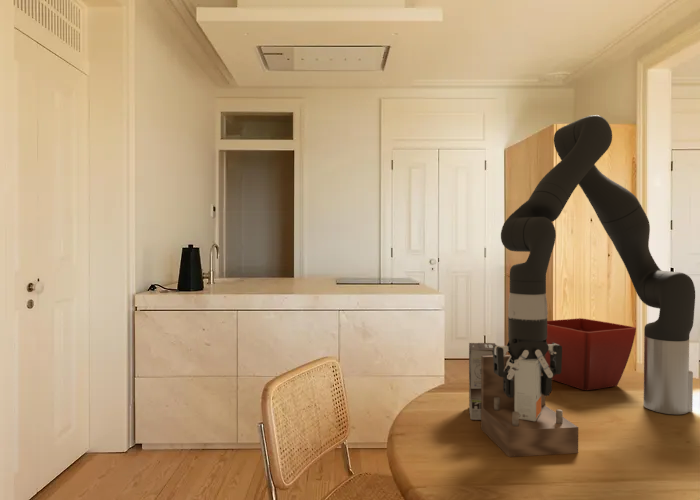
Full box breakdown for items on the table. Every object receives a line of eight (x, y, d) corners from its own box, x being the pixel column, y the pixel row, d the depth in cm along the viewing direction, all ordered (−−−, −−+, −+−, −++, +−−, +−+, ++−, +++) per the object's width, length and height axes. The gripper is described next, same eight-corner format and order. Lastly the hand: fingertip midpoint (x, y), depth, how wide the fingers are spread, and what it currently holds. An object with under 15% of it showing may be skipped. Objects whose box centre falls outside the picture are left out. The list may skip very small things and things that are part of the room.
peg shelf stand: (542, 426, 112) (542, 353, 111) (578, 452, 98) (578, 370, 97) (481, 429, 110) (481, 355, 110) (508, 456, 96) (509, 372, 96)
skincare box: (536, 422, 100) (535, 362, 100) (514, 418, 102) (513, 359, 102) (542, 413, 105) (541, 355, 105) (521, 409, 107) (520, 353, 107)
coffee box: (499, 422, 114) (499, 350, 114) (469, 420, 116) (469, 349, 115) (495, 408, 123) (496, 342, 123) (468, 406, 124) (468, 341, 124)
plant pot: (580, 371, 157) (581, 317, 157) (637, 387, 140) (638, 327, 139) (533, 378, 149) (533, 321, 149) (587, 396, 132) (587, 332, 132)
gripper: (551, 311, 108) (551, 388, 108) (486, 313, 106) (486, 391, 107) (570, 317, 100) (570, 400, 101) (501, 319, 99) (501, 403, 99)
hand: (527, 395), depth 104 cm, fingers open, 7 cm apart
